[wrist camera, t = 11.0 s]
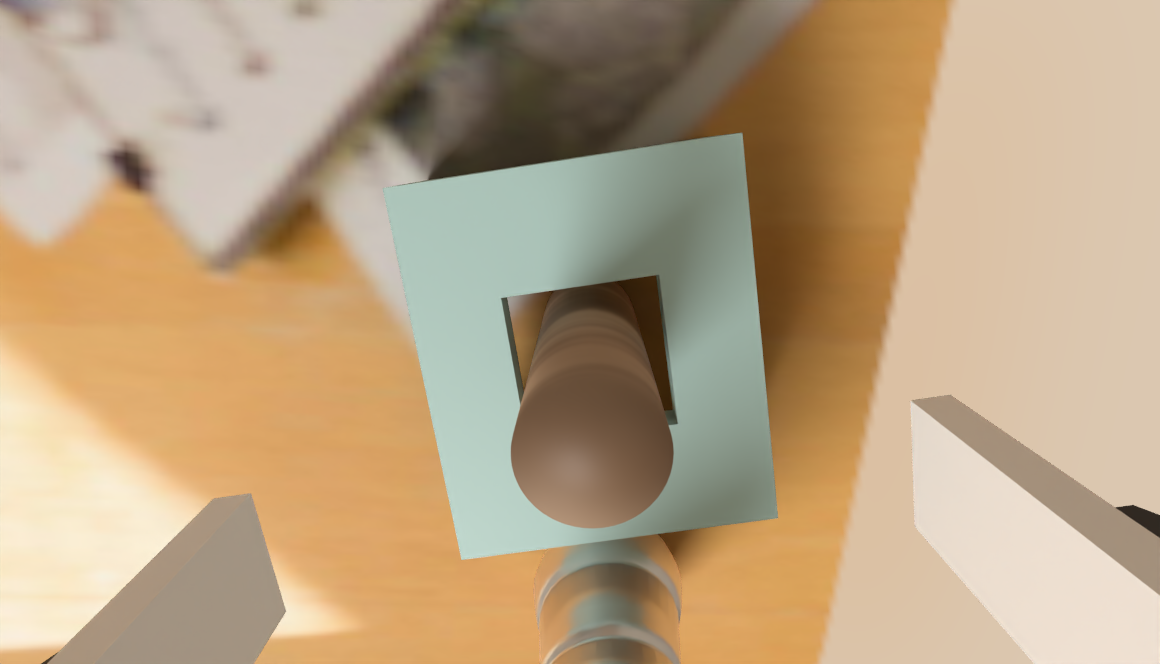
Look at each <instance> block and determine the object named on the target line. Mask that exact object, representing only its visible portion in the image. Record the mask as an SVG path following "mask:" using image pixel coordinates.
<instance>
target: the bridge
mask: <svg viewBox="0 0 1160 664" xmlns="http://www.w3.org/2000/svg"><path fill="white" fill-rule="evenodd" d="M383 192H384V197H385V202H386V206H387V211H388V216H389V220H390V225H391V230H392V235H393V239H394V244H395V249H396V253H397V258H398V263H399V267H400V272H401V277H402V282H403V286H404V291H405V296H406V300H407V305H408V310H409V314H410V319H411V324H412V329H413V333H414V338H415V343H416V347H417V352H418V357H419V361H420V366H421V371H422V376H423V380H424V385H425V390H426V394H427V399H428V404H429V409H430V413H431V418H432V423H433V427H434V432H435V437H436V441H437V446H438V451H439V456H440V460H441V465H442V470H443V474H444V479H445V484H446V488H447V493H448V498H449V503H450V507H451V512H452V517H453V521H454V526H455V531H456V535H457V540H458V545H459V550H460V554H461V559H462V560H464V559H472V558H480V557H487V556H495V555H502V554H510V553H518V552H525V551H533V550H540V549H548V548H555V547H563V546H571V545H578V544H586V543H593V542H601V541H608V540H616V539H624V538H631V537H639V536H646V535H654V534H662V533H669V532H677V531H684V530H692V529H699V528H707V527H715V526H722V525H730V524H737V523H745V522H753V521H760V520H768V519H775V518H778V512H777V501H776V491H775V480H774V469H773V458H772V448H771V437H770V426H769V415H768V404H767V394H766V383H765V372H764V361H763V350H762V340H761V329H760V318H759V307H758V297H757V286H756V275H755V264H754V253H753V243H752V232H751V221H750V210H749V199H748V189H747V178H746V167H745V156H744V146H743V135H742V133H735V134H727V135H719V136H711V137H704V138H697V139H691V140H684V141H678V142H671V143H665V144H658V145H652V146H645V147H639V148H633V149H626V150H620V151H613V152H607V153H600V154H594V155H587V156H581V157H574V158H568V159H561V160H555V161H549V162H542V163H536V164H529V165H523V166H516V167H510V168H503V169H497V170H490V171H484V172H478V173H471V174H465V175H458V176H452V177H445V178H439V179H432V180H426V181H421V182H415V183H409V184H404V185H398V186H393V187H387V188H383ZM654 275H656V279H657V287H658V295H659V303H660V311H661V318H662V326H663V334H664V342H665V350H666V358H667V366H668V374H669V382H670V390H671V398H672V405H673V410H667V411H664V412H665V415H666V418H667V422H668V425H669V428H670V432H671V435H672V440H673V450H674V456H673V465H672V470H671V474H670V476H669V479H668V482H667V484H666V486H665V487H664V489H663V491H662V492H661V494H660V495H659V497H658V498H657V499H656V500H655V501H654V502H653V503H652V504H651V506H650V507H648V508H647V509H646V510H645V511H643V512H642V513H641V514H639V515H638V516H636V517H634V518H633V519H630V520H628V521H626V522H624V523H621V524H618V525H615V526H610V527H605V528H580V527H574V526H570V525H566V524H563V523H561V522H558V521H556V520H554V519H552V518H550V517H548V516H547V515H545V514H543V513H542V512H541V511H540V510H538V509H537V508H536V507H535V506H534V505H533V504H532V503H531V502H530V501H529V500H528V499H527V498H526V496H525V495H524V494H523V492H522V490H521V489H520V487H519V485H518V483H517V481H516V478H515V476H514V472H513V469H512V464H511V442H512V436H513V432H514V429H515V425H516V421H517V417H518V413H519V409H520V405H521V401H522V398H523V394H524V390H523V385H522V379H521V373H520V368H519V362H518V356H517V351H516V345H515V340H514V334H513V328H512V323H511V317H510V312H509V306H508V300H507V297H511V296H518V295H525V294H532V293H538V292H545V291H552V290H559V289H566V288H572V287H579V286H586V285H593V284H600V283H606V282H613V281H620V280H627V279H634V278H640V277H647V276H654Z"/></svg>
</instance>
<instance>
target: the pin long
mask: <svg viewBox="0 0 1160 664" xmlns="http://www.w3.org/2000/svg"><path fill="white" fill-rule="evenodd" d="M673 456H674V450H673V440H672V435H671V432H670V428H669V425H668V422H667V418H666V415H665V412H664V408H663V405H662V402H661V399H660V395H659V392H658V389H657V385H656V382H655V379H654V375H653V372H652V369H651V365H650V362H649V359H648V356H647V352H646V349H645V346H644V342H643V339H642V336H641V332H640V329H639V326H638V322H637V319H636V316H635V312H634V309H633V306H632V303H631V300H630V298H629V296H628V295H627V293H626V292H625V290H624V289H623V288H622V287H621V286H620V285H619V284H617V283H616V282H615V281H613V282H606V283H600V284H593V285H586V286H579V287H572V288H566V289H559V290H554V292H553V293H552V294H551V296H550V298H549V300H548V302H547V305H546V309H545V313H544V317H543V320H542V324H541V328H540V332H539V336H538V340H537V344H536V347H535V351H534V355H533V359H532V363H531V367H530V371H529V374H528V378H527V382H526V386H525V390H524V394H523V398H522V401H521V405H520V409H519V413H518V417H517V421H516V425H515V429H514V432H513V436H512V442H511V464H512V469H513V472H514V476H515V478H516V481H517V483H518V485H519V487H520V489H521V490H522V492H523V494H524V495H525V496H526V498H527V499H528V500H529V501H530V502H531V503H532V504H533V505H534V506H535V507H536V508H537V509H538V510H540V511H541V512H542V513H543V514H545V515H547V516H548V517H550V518H552V519H554V520H556V521H558V522H561V523H563V524H566V525H570V526H574V527H580V528H605V527H610V526H615V525H618V524H621V523H624V522H626V521H628V520H630V519H633V518H634V517H636V516H638V515H639V514H641V513H642V512H643V511H645V510H646V509H647V508H648V507H650V506H651V504H652V503H653V502H654V501H655V500H656V499H657V498H658V497H659V495H660V494H661V492H662V491H663V489H664V487H665V486H666V484H667V482H668V479H669V476H670V474H671V470H672V465H673Z"/></svg>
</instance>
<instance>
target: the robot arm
mask: <svg viewBox="0 0 1160 664" xmlns="http://www.w3.org/2000/svg"><path fill="white" fill-rule="evenodd" d="M911 425H912V426H911V428H912V455H913V456H912V457H913V485H914V514H915V515H914V516H915V527H916V529H917V530H918V531H919V532H920V533H921V534H922V535H923V537H924V538H925V539H926V540H927V541H928V542H929V543H930V545H931V546H932V547H933V548H934V549H935V550H936V551H937V553H938V554H939V555H940V556H941V557H942V558H943V559H944V561H945V562H946V563H947V564H948V565H949V566H950V567H951V569H952V570H953V571H954V572H955V573H956V574H957V576H958V577H959V578H960V579H961V580H962V581H963V582H964V584H965V585H966V586H967V587H968V588H969V589H970V590H971V591H972V593H973V594H974V595H975V596H976V597H977V598H978V599H979V601H980V602H981V603H982V604H983V605H984V606H985V608H986V609H987V610H988V611H989V612H990V613H991V614H992V616H993V617H994V618H995V619H996V620H997V621H998V622H999V623H1000V625H1001V626H1002V627H1003V628H1004V629H1005V631H1006V632H1007V633H1008V634H1009V635H1010V636H1011V637H1012V638H1013V640H1014V641H1015V642H1016V643H1017V644H1018V645H1019V647H1020V648H1021V649H1022V650H1023V651H1024V652H1025V653H1026V655H1027V656H1028V657H1029V658H1030V659H1031V660H1032V661H1033V663H1034V664H1160V515H1158V514H1155V513H1152V512H1150V511H1147V510H1145V509H1142V508H1139V507H1137V506H1134V505H1131V506H1123V507H1116V508H1115V507H1113V506H1112V505H1111V504H1109V503H1108V502H1106V501H1105V500H1103V499H1102V498H1100V497H1099V496H1097V495H1096V494H1095V493H1093V492H1092V491H1090V490H1089V489H1087V488H1086V487H1084V486H1083V485H1081V484H1080V483H1078V482H1077V481H1076V480H1074V479H1073V478H1071V477H1070V476H1068V475H1067V474H1065V473H1064V472H1062V471H1061V470H1059V469H1058V468H1057V467H1055V466H1054V465H1052V464H1051V463H1049V462H1048V461H1046V460H1045V459H1043V458H1042V457H1040V456H1039V455H1038V454H1036V453H1035V452H1033V451H1032V450H1030V449H1029V448H1027V447H1026V446H1024V445H1023V444H1021V443H1020V442H1019V441H1017V440H1016V439H1014V438H1013V437H1011V436H1010V435H1008V434H1007V433H1005V432H1004V431H1002V430H1001V429H999V428H998V427H997V426H995V425H994V424H992V423H991V422H989V421H988V420H986V419H985V418H983V417H982V416H981V415H979V414H978V413H976V412H975V411H973V410H972V409H970V408H969V407H967V406H966V405H965V404H963V403H962V402H960V401H959V400H957V399H956V398H954V397H953V396H951V395H946V396H939V397H932V398H925V399H918V400H911ZM285 612H286V610H285V607H284V603H283V600H282V597H281V593H280V590H279V586H278V583H277V580H276V576H275V573H274V570H273V566H272V563H271V559H270V556H269V553H268V549H267V546H266V542H265V539H264V536H263V532H262V529H261V526H260V522H259V519H258V515H257V512H256V509H255V505H254V502H253V499H252V495H251V493H250V494H243V495H236V496H229V497H222V498H215V499H213V500H212V501H211V502H210V503H209V504H208V505H207V506H206V507H205V508H204V509H203V510H202V511H201V512H200V513H199V514H198V515H197V516H196V517H195V518H194V519H193V520H192V521H191V522H190V523H189V524H188V525H187V526H186V527H185V528H184V529H183V530H182V531H181V532H180V533H178V534H177V535H176V536H175V537H174V538H173V539H172V540H171V541H170V542H169V543H168V544H167V545H166V546H165V547H164V548H163V549H162V550H161V551H160V552H159V553H158V554H157V555H156V556H155V557H154V558H153V559H152V560H151V561H150V562H149V563H148V564H147V565H146V566H145V567H144V568H143V569H142V570H141V571H140V572H139V573H138V574H137V575H136V576H135V577H134V578H133V579H132V580H131V581H130V582H129V583H128V584H127V585H126V586H125V587H124V588H123V589H122V590H121V591H120V592H119V593H118V594H117V595H116V596H115V597H114V598H113V599H112V600H111V601H110V602H109V603H108V604H107V605H106V606H105V607H104V608H103V609H102V610H101V611H100V612H99V613H98V614H97V615H96V616H95V617H94V618H93V619H92V620H91V621H90V622H89V623H88V624H86V625H85V626H84V627H83V628H82V629H81V630H80V631H79V632H78V633H77V634H76V635H75V636H74V637H73V638H72V639H71V640H70V641H69V642H68V643H67V644H66V645H65V646H64V647H63V648H62V649H61V650H60V651H59V652H58V653H56V654H55V655H53V656H52V657H50V658H49V659H47V660H46V661H45V662H43V663H42V664H254V662H255V661H256V659H257V657H258V656H259V654H260V653H261V651H262V649H263V648H264V646H265V645H266V643H267V641H268V640H269V638H270V636H271V635H272V633H273V632H274V630H275V628H276V627H277V625H278V623H279V622H280V620H281V619H282V617H283V615H284V614H285Z"/></svg>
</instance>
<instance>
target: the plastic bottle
mask: <svg viewBox="0 0 1160 664" xmlns="http://www.w3.org/2000/svg"><path fill="white" fill-rule="evenodd" d="M534 603H535V613H536V619H537V624H538V629H539V646H540V664H681V656H680V637H679V621H680V615H681V607H682V584H681V575H680V572H679V569H678V566H677V563H676V561H675V560H674V558H673V556H672V554H671V552H670V550H669V549H668V547H667V545H666V544H665V542H664V540H663V539H662V538H661V537H660V536H659V535H658V534H654V535H646V536H639V537H631V538H624V539H616V540H608V541H601V542H593V543H586V544H578V545H571V546H563V547H555V548H548V549H547V550H546V551H545V553H544V555H543V558H542V560H541V562H540V564H539V567H538V570H537V573H536V576H535V580H534Z"/></svg>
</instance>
